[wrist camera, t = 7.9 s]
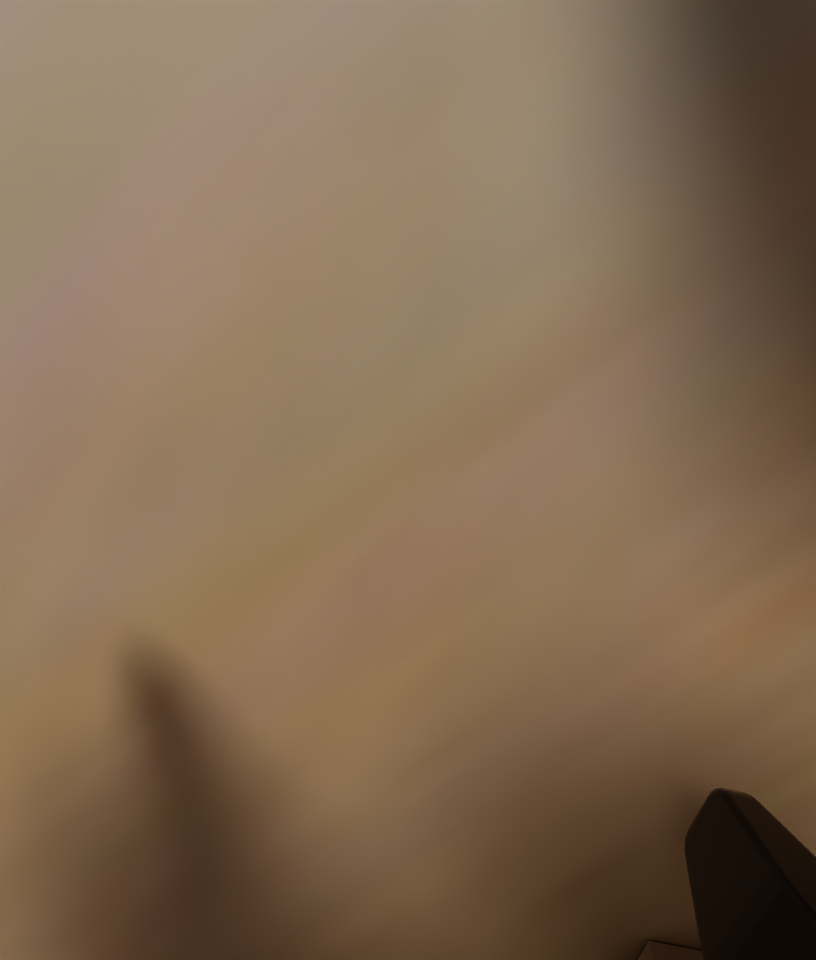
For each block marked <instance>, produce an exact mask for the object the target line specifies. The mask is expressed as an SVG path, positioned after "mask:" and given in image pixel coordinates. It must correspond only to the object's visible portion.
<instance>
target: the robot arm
mask: <svg viewBox="0 0 816 960" xmlns="http://www.w3.org/2000/svg"><path fill="white" fill-rule="evenodd" d="M685 857H686V863H687V869H688V875H689V881H690V887H691V893H692V899H693V905H694V911H695V917H696V923H697V929H698V935H699V941H700V947H701V953H702V959H703V960H816V857H815V856H814V855H813V854H812V853H811V852H810V851H809V850H808V849H807V848H806V847H805V846H804V845H803V844H802V843H801V842H800V841H799V840H798V839H797V838H796V837H795V836H794V835H793V834H791V833H790V832H789V831H788V830H787V829H786V828H785V827H784V826H783V825H782V824H781V823H780V822H779V821H778V820H777V819H776V818H775V817H774V816H773V815H772V814H771V813H770V812H769V811H768V810H767V809H766V808H764V807H763V806H762V805H761V804H760V803H759V802H758V801H757V800H756V799H755V798H754V797H752V796H751V795H749V794H746V793H743V792H738V791H734V790H729V789H724V788H716V789H715V790H713V791H712V792H710V794H709V795H708V797H707V799H706V800H705V802H704V804H703V805H702V807H701V809H700V811H699V812H698V814H697V816H696V817H695V819H694V821H693V823H692V824H691V826H690V828H689V829H688V832H687V835H686V838H685Z"/></svg>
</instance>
